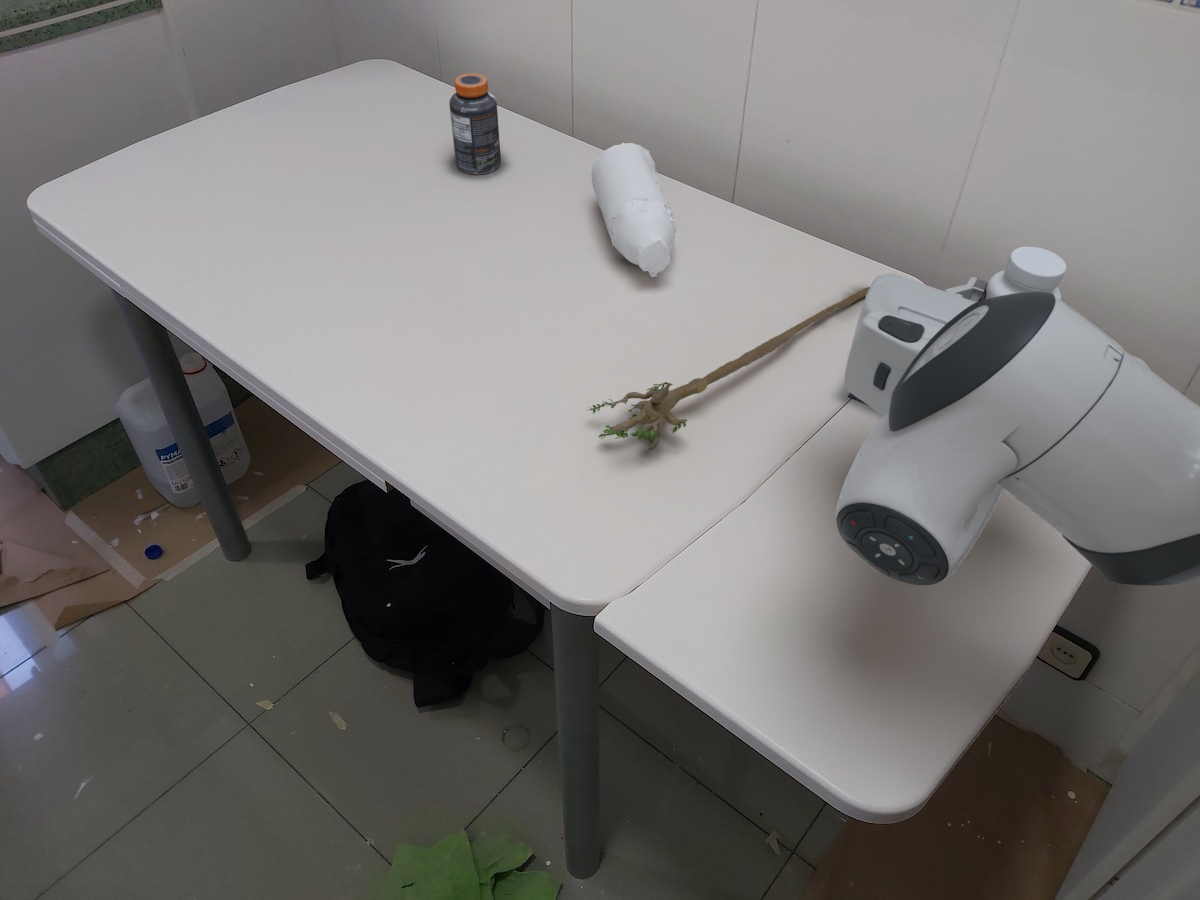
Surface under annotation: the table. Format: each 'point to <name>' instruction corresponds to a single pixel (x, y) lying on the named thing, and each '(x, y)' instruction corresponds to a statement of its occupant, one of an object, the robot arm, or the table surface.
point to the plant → (698, 384)
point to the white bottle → (634, 206)
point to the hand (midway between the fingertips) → (1019, 300)
